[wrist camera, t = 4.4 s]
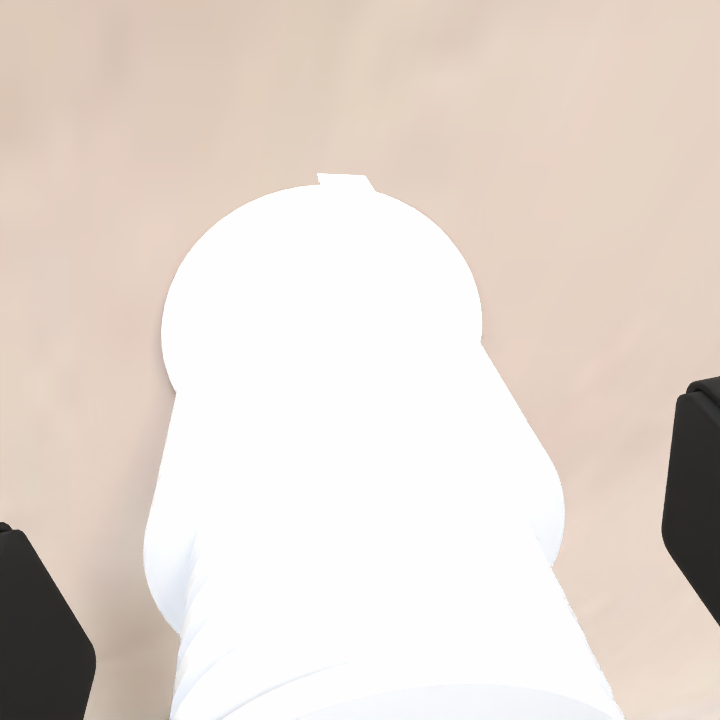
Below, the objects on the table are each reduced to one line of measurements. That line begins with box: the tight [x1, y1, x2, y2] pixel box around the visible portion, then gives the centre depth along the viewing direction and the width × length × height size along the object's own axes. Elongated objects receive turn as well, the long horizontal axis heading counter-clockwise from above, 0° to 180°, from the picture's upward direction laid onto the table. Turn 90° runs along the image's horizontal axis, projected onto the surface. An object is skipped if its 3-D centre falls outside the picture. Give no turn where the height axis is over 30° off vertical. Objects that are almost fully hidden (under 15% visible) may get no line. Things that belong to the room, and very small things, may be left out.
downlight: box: [143, 174, 626, 720], centre depth 10 cm, size 8×7×10 cm
